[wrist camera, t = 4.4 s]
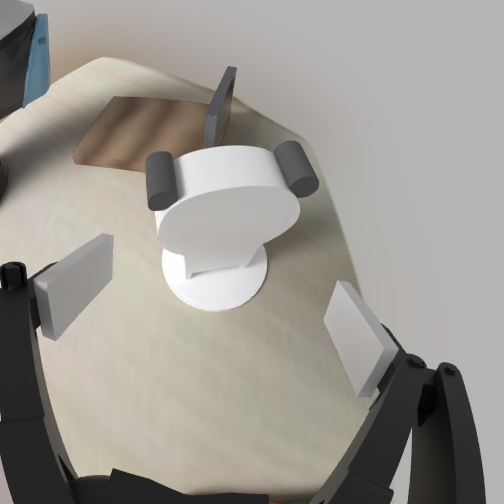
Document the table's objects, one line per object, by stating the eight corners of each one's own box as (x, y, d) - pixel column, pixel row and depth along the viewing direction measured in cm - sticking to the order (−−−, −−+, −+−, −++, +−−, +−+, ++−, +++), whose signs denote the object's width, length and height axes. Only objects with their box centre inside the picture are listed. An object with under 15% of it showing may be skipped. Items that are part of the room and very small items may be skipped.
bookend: (202, 165, 33) (205, 114, 26) (221, 110, 39) (228, 66, 32) (211, 166, 33) (217, 115, 26) (229, 111, 39) (236, 67, 32)
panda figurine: (256, 208, 34) (289, 109, 21) (284, 297, 30) (350, 226, 17) (156, 223, 31) (137, 119, 18) (172, 321, 27) (144, 261, 14)
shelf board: (75, 163, 33) (71, 154, 31) (115, 105, 39) (114, 96, 37) (209, 182, 35) (210, 172, 33) (229, 117, 41) (230, 108, 39)
